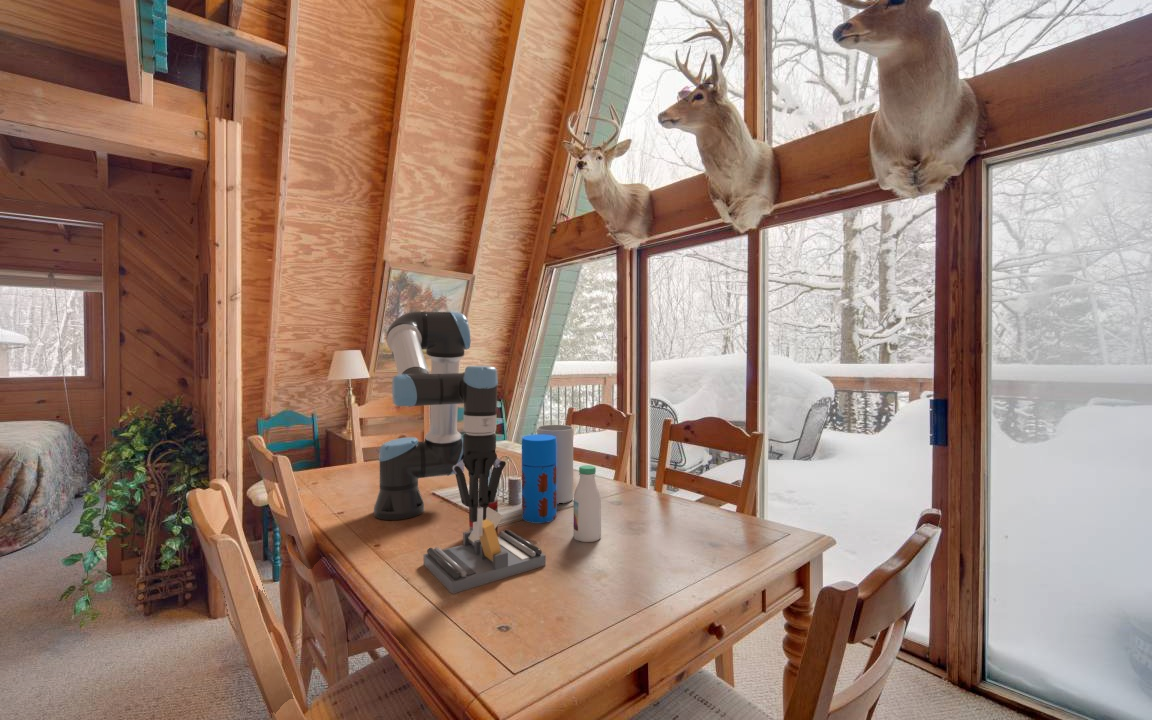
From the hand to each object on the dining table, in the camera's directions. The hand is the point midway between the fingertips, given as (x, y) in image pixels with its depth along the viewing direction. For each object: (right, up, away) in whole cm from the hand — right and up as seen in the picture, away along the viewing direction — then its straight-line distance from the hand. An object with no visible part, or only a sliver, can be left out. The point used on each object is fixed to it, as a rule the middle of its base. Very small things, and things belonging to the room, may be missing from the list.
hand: (477, 534), depth 118 cm
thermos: (+11, -9, +41) cm, 43 cm away
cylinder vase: (+16, -8, +59) cm, 62 cm away
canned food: (-3, -9, +25) cm, 27 cm away
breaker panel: (0, -10, +7) cm, 12 cm away
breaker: (-3, -6, +11) cm, 13 cm away
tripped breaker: (+3, -6, +3) cm, 8 cm away
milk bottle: (+26, -10, +24) cm, 37 cm away
